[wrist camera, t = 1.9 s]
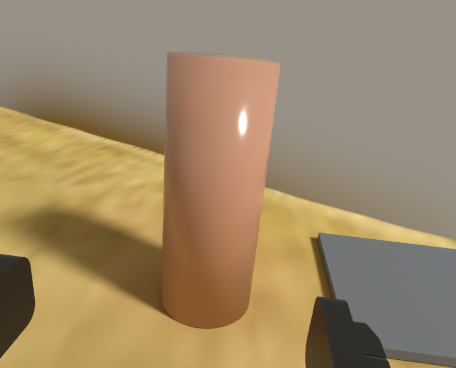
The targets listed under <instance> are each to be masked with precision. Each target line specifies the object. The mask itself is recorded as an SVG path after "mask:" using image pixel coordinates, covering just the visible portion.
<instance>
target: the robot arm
mask: <svg viewBox="0 0 456 368" xmlns="http://www.w3.org/2000/svg"><path fill="white" fill-rule="evenodd" d="M34 309H35V297H34V289H33V282H32V274H31V266H30V262H29V260H28V259H27V258H26V257H19V256H11V255H4V254H0V358H1V357H2V356H3V354H4V353H5V352H6V351H7V350H8V348H9V347H10V346H11V345H12V344H13V342H14V341H15V340H16V339H17V337H18V336H19V335H20V334H21V333H22V331H23V330H24V329H25V328H26V327H27V325H28V324H29V322H30V320H31V318H32V316H33V313H34ZM386 358H387V357H386V354H385V352H384V349H383V346H382V344H381V341H380V339H379V338H378V336H377V335H376V334H375V333H374V332H373V331H372V329H371V328H370V327H369V326H368V325H367V324H366V323H362V322H355V321H353V319H352V316H351V312H350V309H349V306H348V303H347V301H346V300H340V299H333V298H325V297H317V298H316V300H315V304H314V309H313V314H312V318H311V323H310V328H309V332H308V337H307V342H306V353H305V362H306V368H391V367H390V365H389V362H388V361H387V360H386Z"/></svg>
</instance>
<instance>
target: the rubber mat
mask: <svg viewBox="0 0 456 368" xmlns="http://www.w3.org/2000/svg"><path fill="white" fill-rule="evenodd" d="M318 243H319V247H320V251H321V255H322V259H323V262H324V266H325V270H326V274H327V278H328V282H329V286H330V290H331V294H332V298H333V299H340V300H346V301H347V303H348V306H349V309H350V312H351V316H352V319H353V321H355V322H362V323H366V324H367V325H368V326H369V327H370V328H371V329H372V331H373V332H374V333H375V334H376V335H377V336H378V338H379V339H380V341H381V344H382V346H383V349H384V352H385V354H386V357H387V358H392V359H399V360H407V361H414V362H421V363H428V364H436V365H443V366H450V367H456V249H449V248H441V247H432V246H424V245H416V244H408V243H399V242H391V241H383V240H375V239H367V238H358V237H350V236H342V235H334V234H325V233H319V234H318Z"/></svg>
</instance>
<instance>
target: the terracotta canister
mask: <svg viewBox="0 0 456 368" xmlns="http://www.w3.org/2000/svg"><path fill="white" fill-rule="evenodd" d="M280 68H281V63H280V62H277V61H272V60H266V59H260V58H252V57H244V56H234V55H223V54H212V53H197V52H168V53H167V81H166V82H167V83H166V121H165V122H166V123H165V159H164V198H163V237H162V276H161V302H162V306H163V308H164V309H165V311H166V312H167V313H168V314H169V315H170V316H171V317H172V318H173V319H175V320H176V321H178V322H180V323H182V324H185V325H188V326H191V327H196V328H219V327H223V326H226V325H229V324H232V323H234V322H235V321H237V320H239V319H240V318H241V317H242V316H243V315H244V314H245V312H246V311H247V309H248V306H249V300H250V292H251V285H252V277H253V270H254V262H255V255H256V247H257V240H258V232H259V225H260V217H261V210H262V202H263V195H264V187H265V180H266V173H267V165H268V157H269V150H270V143H271V135H272V127H273V120H274V113H275V105H276V98H277V89H278V83H279V75H280Z"/></svg>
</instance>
